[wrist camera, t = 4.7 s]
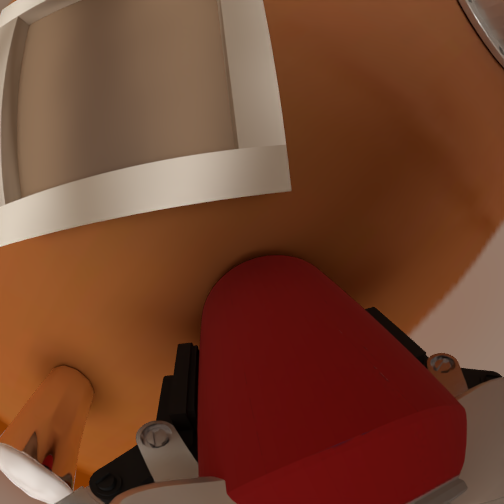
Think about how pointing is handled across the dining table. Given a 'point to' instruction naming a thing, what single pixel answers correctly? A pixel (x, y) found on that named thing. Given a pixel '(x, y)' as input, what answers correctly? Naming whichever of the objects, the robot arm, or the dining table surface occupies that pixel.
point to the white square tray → (133, 109)
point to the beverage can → (317, 397)
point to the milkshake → (48, 436)
